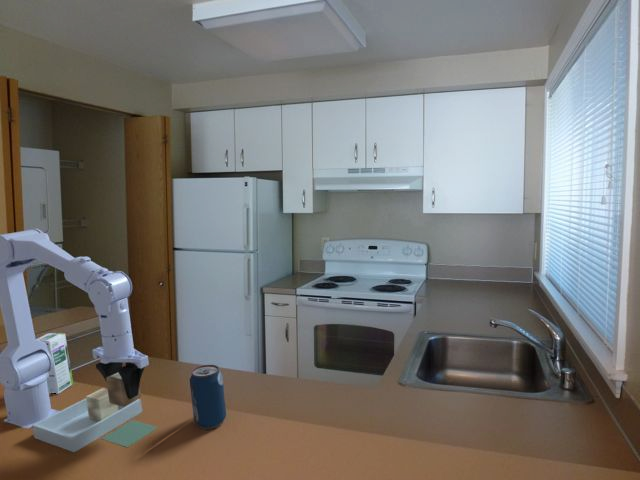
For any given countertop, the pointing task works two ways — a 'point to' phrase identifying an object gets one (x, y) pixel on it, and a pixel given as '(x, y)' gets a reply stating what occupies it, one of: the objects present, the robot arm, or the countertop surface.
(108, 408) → the birch block
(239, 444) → the countertop surface
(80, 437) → the bin
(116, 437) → the mat
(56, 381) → the syrup box
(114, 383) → the brown wooden block
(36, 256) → the robot arm
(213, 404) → the soda can
